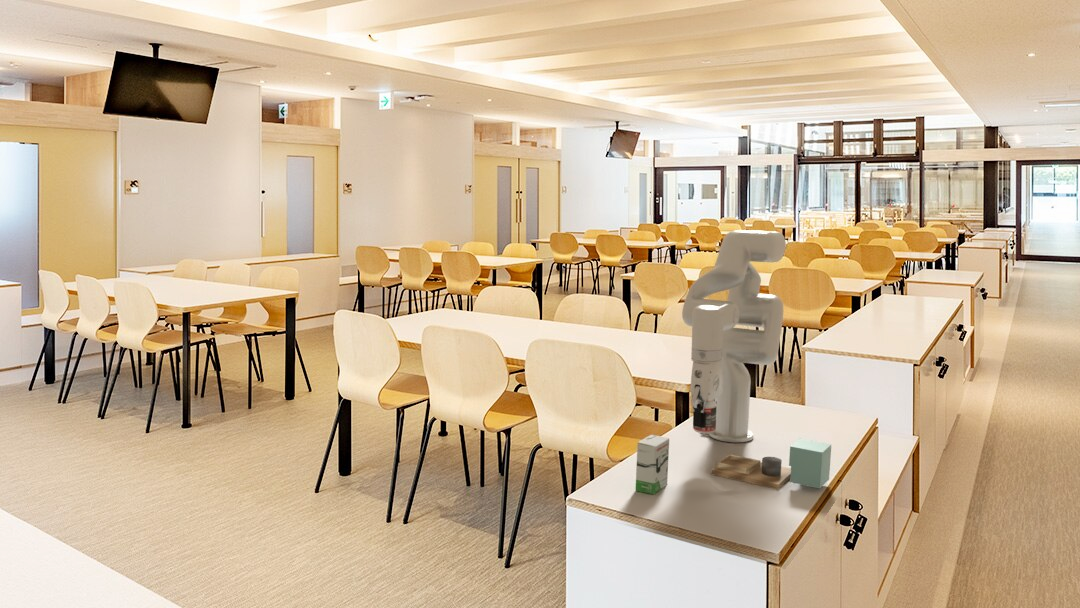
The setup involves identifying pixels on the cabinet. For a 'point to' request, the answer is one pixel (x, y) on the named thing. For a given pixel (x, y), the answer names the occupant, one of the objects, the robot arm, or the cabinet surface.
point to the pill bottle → (708, 418)
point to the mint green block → (810, 463)
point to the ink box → (652, 464)
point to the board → (753, 470)
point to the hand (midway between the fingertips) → (704, 422)
